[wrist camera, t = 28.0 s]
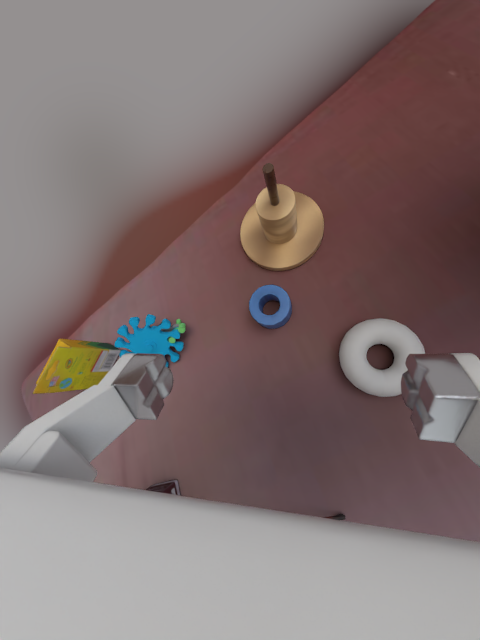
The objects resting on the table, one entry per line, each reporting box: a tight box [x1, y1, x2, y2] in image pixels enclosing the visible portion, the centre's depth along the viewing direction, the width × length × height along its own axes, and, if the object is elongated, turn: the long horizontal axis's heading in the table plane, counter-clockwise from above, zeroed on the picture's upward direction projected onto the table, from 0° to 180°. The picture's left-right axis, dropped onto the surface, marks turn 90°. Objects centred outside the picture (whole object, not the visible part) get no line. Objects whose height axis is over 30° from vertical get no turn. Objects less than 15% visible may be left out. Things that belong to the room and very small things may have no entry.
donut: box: [339, 318, 425, 397], centre depth 33 cm, size 10×4×10 cm
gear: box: [115, 314, 186, 367], centre depth 41 cm, size 11×6×10 cm
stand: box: [240, 163, 324, 271], centre depth 34 cm, size 13×13×14 cm
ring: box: [249, 285, 292, 329], centre depth 38 cm, size 6×6×4 cm
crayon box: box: [33, 339, 121, 394], centre depth 40 cm, size 7×3×12 cm, turn 152°
